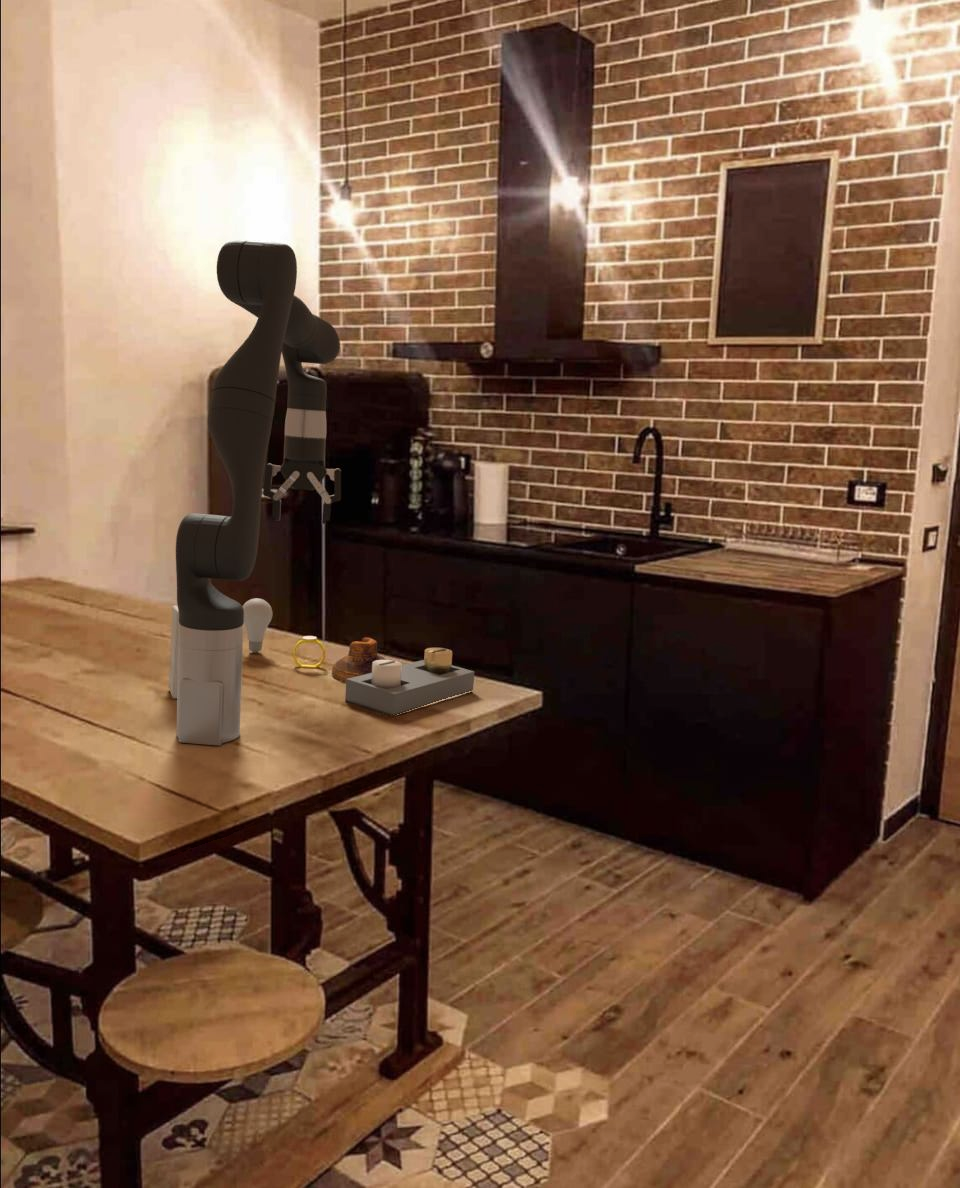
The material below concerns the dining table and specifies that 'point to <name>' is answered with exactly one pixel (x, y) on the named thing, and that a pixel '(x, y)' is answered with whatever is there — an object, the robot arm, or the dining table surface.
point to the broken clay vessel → (357, 660)
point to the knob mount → (408, 689)
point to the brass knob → (438, 660)
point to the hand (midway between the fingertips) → (301, 521)
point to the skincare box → (174, 652)
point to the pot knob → (386, 673)
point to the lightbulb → (256, 622)
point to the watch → (309, 640)
